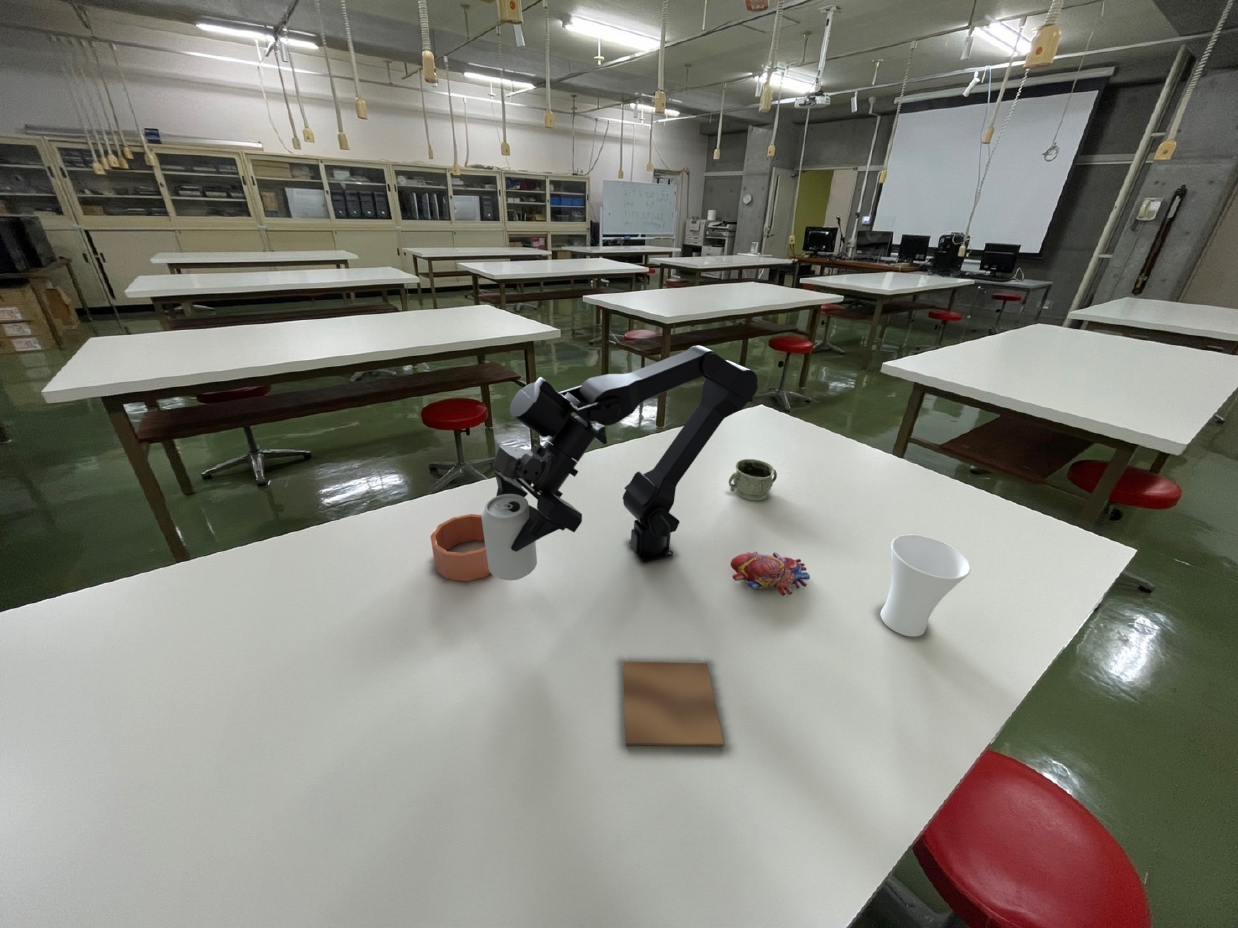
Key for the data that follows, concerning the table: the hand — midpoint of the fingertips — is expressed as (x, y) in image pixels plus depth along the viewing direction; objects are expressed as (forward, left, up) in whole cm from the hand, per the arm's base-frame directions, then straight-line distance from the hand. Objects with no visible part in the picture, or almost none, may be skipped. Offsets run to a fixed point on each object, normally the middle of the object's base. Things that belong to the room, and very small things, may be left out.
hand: (501, 536), depth 74 cm
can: (-1, 0, -7) cm, 7 cm away
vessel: (-59, -16, -14) cm, 63 cm away
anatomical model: (-44, +10, -14) cm, 47 cm away
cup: (-58, +26, -14) cm, 65 cm away
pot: (+4, -14, -13) cm, 19 cm away
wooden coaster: (-16, +25, -13) cm, 33 cm away
